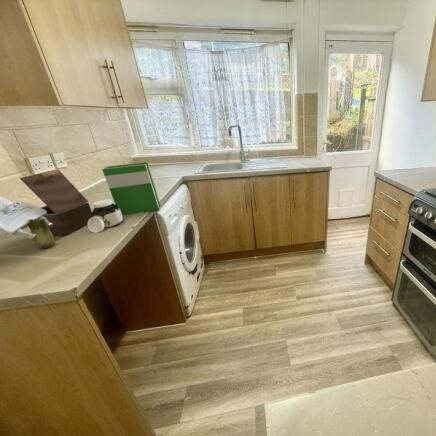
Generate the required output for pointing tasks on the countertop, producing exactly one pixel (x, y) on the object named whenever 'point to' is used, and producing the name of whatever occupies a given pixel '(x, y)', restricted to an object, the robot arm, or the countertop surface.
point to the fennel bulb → (41, 233)
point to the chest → (68, 219)
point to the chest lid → (55, 190)
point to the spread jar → (104, 216)
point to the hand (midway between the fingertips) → (42, 231)
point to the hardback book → (132, 188)
